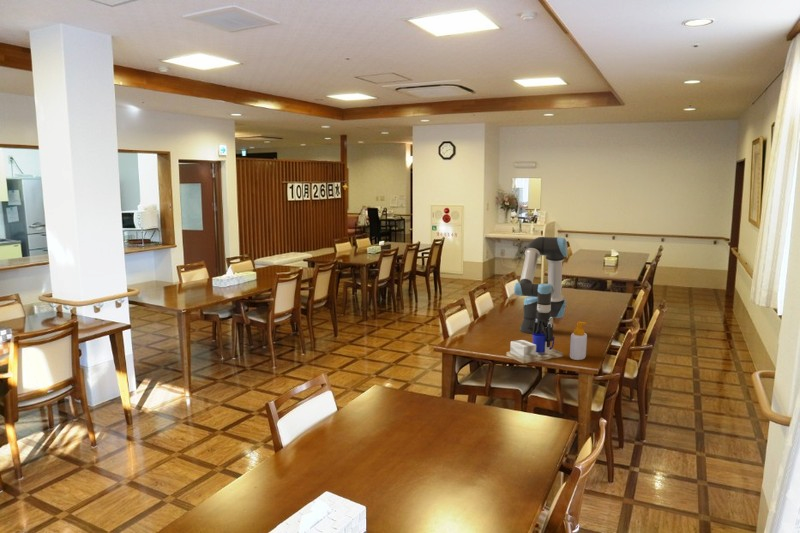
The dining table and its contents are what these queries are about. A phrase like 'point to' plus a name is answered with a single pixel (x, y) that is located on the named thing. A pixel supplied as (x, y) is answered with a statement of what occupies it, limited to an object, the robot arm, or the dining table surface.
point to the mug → (540, 342)
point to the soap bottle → (578, 343)
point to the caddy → (529, 352)
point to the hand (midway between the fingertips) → (541, 350)
